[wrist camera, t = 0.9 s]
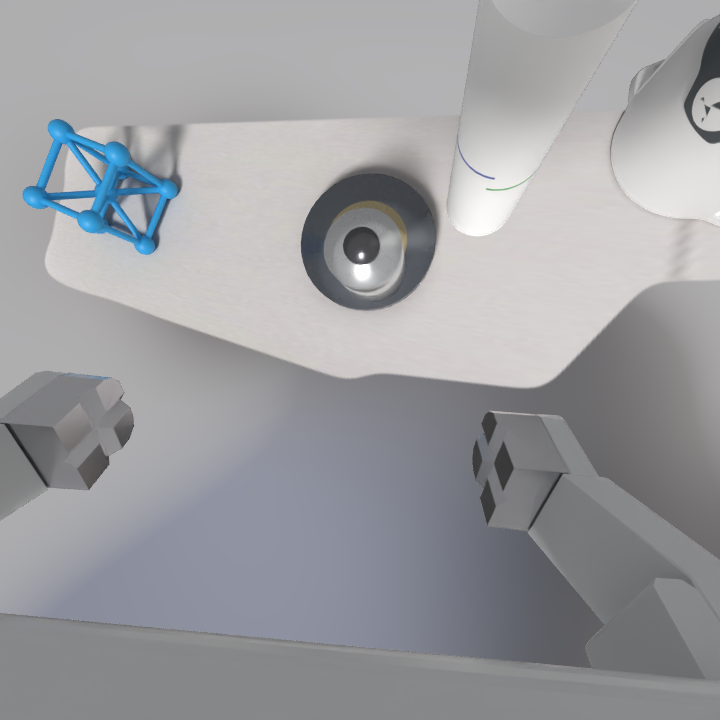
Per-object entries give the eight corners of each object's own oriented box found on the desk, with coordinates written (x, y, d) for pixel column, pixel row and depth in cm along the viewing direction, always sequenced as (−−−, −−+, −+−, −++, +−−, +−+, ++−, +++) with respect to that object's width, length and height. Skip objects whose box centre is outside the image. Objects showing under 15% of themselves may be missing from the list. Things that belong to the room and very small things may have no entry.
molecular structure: (95, 232, 49) (13, 199, 39) (122, 162, 48) (46, 111, 39) (155, 259, 47) (85, 231, 37) (184, 187, 47) (121, 140, 37)
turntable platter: (394, 153, 41) (394, 147, 40) (460, 267, 39) (461, 264, 38) (283, 223, 43) (278, 219, 42) (341, 334, 41) (338, 333, 40)
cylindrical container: (464, 163, 41) (530, -143, 16) (524, 187, 40) (692, -102, 15) (435, 221, 41) (456, 9, 17) (493, 246, 40) (609, 59, 16)
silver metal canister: (386, 227, 40) (377, 189, 31) (417, 282, 39) (416, 258, 30) (331, 259, 41) (308, 231, 32) (360, 313, 40) (344, 300, 31)
